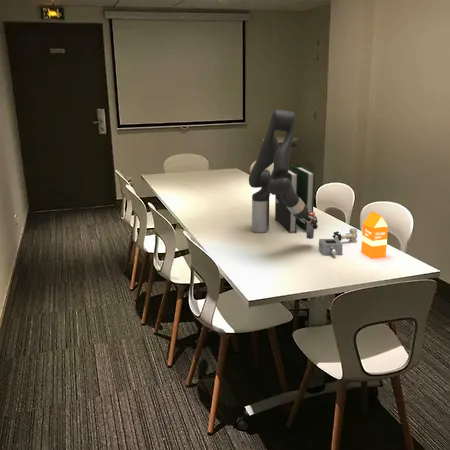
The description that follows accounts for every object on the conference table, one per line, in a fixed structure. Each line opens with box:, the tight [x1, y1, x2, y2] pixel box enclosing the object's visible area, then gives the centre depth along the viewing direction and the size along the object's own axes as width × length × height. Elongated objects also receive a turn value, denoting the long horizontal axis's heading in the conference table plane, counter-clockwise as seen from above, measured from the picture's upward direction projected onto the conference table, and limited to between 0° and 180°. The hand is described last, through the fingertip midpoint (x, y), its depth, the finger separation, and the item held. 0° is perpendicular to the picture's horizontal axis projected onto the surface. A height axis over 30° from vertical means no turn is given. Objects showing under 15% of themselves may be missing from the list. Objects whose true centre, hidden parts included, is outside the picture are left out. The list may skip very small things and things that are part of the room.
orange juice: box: [360, 210, 389, 259], centre depth 224 cm, size 8×9×20 cm
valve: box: [332, 227, 358, 244], centre depth 243 cm, size 7×7×12 cm
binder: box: [274, 164, 316, 234], centre depth 268 cm, size 27×15×32 cm, turn 9°
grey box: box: [318, 238, 343, 256], centre depth 228 cm, size 9×13×5 cm
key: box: [306, 211, 316, 240], centre depth 236 cm, size 3×3×13 cm
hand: (313, 226), depth 237 cm, fingers closed on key, 3 cm apart
